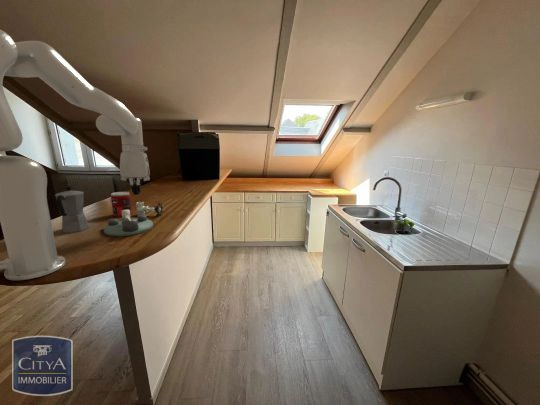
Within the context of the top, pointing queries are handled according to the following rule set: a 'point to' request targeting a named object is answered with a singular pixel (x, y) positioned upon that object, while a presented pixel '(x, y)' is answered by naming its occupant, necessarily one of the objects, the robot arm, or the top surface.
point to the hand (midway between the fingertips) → (136, 194)
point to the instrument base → (116, 230)
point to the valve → (147, 208)
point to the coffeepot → (72, 210)
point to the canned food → (120, 203)
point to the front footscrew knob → (128, 222)
